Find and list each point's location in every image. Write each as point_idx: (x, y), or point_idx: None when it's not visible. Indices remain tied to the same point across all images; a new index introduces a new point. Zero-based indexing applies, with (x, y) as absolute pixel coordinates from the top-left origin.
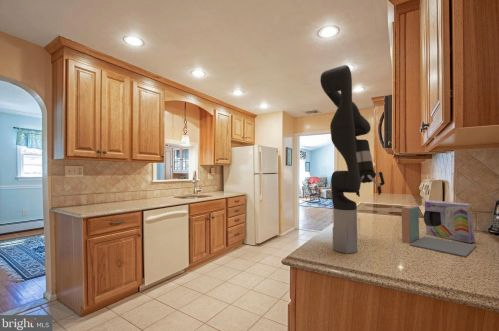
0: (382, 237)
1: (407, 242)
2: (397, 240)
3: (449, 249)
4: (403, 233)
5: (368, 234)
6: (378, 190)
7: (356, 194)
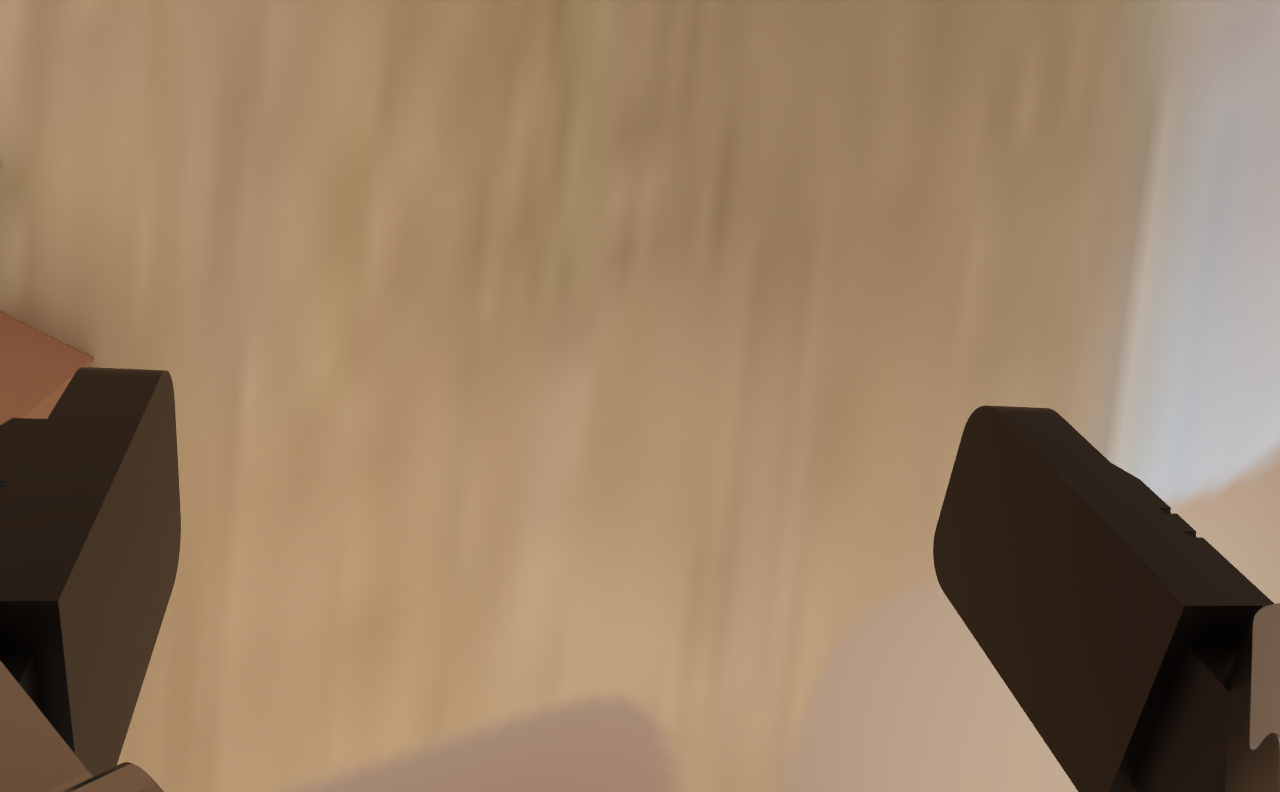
0: (365, 506)
1: (19, 325)
2: None
3: None
4: (11, 398)
5: (558, 609)
6: (80, 465)
7: (1128, 474)
